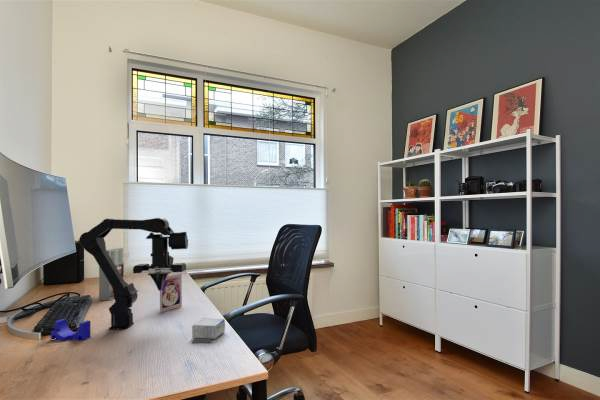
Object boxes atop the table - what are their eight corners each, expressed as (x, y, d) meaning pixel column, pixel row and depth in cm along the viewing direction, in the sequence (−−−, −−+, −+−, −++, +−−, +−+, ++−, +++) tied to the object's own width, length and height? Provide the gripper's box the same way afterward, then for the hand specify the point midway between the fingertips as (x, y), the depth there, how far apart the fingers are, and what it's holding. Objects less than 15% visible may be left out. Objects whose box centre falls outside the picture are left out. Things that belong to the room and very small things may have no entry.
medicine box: (191, 338, 113) (215, 339, 112) (191, 324, 114) (215, 325, 112) (202, 330, 121) (225, 331, 119) (202, 317, 121) (225, 318, 120)
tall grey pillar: (110, 300, 168) (110, 250, 169) (98, 300, 169) (98, 250, 170) (125, 293, 182) (125, 247, 183) (114, 293, 182) (114, 247, 183)
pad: (191, 343, 110) (191, 342, 110) (203, 328, 124) (203, 327, 124) (209, 342, 110) (209, 341, 110) (220, 327, 124) (219, 327, 124)
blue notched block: (50, 340, 116) (50, 323, 116) (62, 335, 120) (62, 318, 120) (79, 342, 113) (79, 324, 113) (90, 338, 117) (90, 320, 117)
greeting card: (161, 312, 145) (160, 277, 145) (150, 310, 149) (150, 276, 149) (183, 306, 155) (182, 273, 155) (172, 304, 158) (172, 272, 159)
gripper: (190, 247, 139) (190, 285, 138) (145, 248, 139) (145, 286, 138) (181, 250, 128) (181, 291, 127) (132, 251, 128) (132, 292, 127)
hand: (160, 290), depth 130 cm, fingers closed
